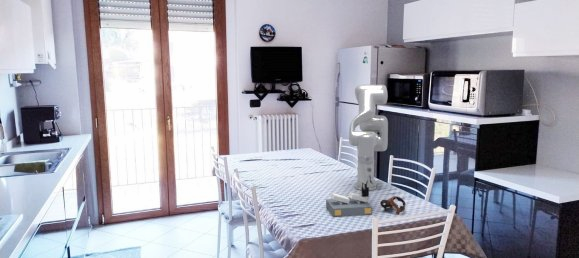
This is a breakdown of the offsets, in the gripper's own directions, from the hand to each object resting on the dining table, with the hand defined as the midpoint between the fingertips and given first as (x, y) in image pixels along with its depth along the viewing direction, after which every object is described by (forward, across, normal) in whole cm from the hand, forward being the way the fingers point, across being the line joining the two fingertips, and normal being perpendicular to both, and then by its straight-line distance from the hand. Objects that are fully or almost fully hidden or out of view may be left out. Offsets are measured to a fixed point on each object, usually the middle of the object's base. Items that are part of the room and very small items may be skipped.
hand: (365, 196), depth 191 cm
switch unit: (+7, 0, +8) cm, 11 cm away
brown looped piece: (+7, -4, -12) cm, 15 cm away
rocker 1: (+2, 0, +13) cm, 13 cm away
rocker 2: (+2, 0, +4) cm, 4 cm away
